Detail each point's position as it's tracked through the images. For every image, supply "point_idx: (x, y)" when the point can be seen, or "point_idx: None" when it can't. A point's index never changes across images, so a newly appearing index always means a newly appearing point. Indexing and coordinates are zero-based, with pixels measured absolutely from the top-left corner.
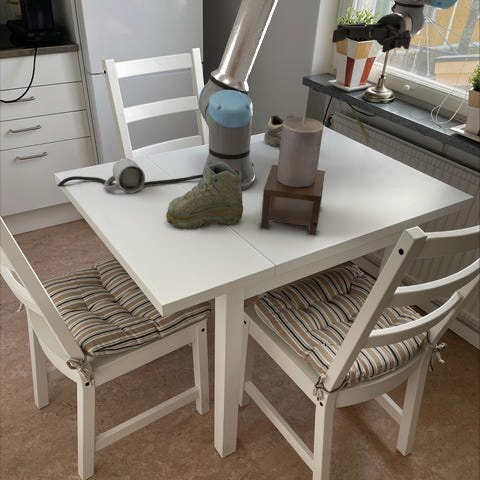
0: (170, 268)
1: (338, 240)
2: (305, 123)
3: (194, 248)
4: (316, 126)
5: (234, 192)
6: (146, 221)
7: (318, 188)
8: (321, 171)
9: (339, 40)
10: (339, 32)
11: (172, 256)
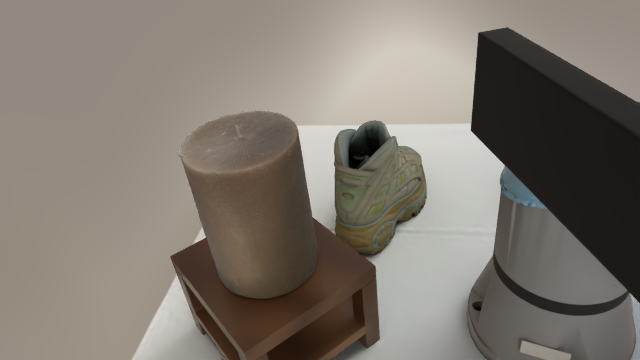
0: (301, 145)
1: (144, 348)
2: (234, 141)
3: (320, 174)
4: (199, 150)
5: (335, 182)
6: (431, 159)
7: (197, 272)
8: (250, 339)
9: (525, 177)
10: (517, 87)
11: (322, 153)
